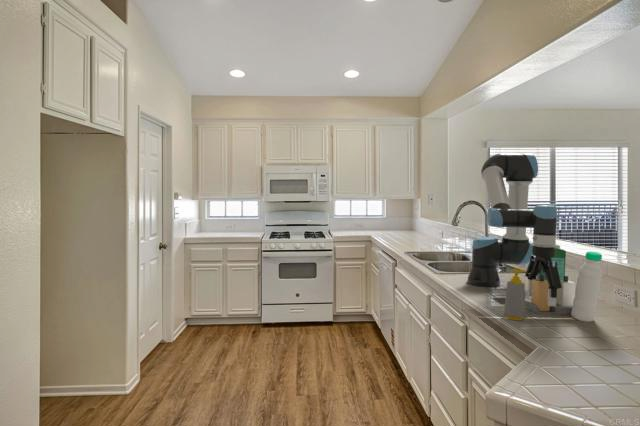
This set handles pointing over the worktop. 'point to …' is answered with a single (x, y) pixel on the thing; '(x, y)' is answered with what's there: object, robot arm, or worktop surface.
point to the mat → (500, 300)
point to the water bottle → (587, 288)
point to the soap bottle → (515, 298)
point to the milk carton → (560, 258)
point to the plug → (540, 293)
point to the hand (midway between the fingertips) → (541, 300)
